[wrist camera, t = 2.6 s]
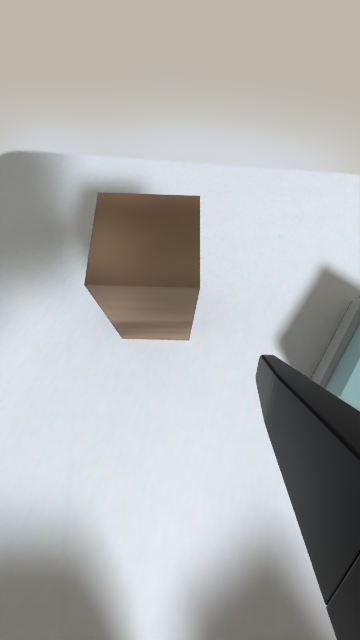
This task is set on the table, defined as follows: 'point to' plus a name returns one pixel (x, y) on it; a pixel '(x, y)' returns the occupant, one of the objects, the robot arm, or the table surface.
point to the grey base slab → (338, 344)
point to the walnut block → (146, 263)
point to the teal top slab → (348, 374)
